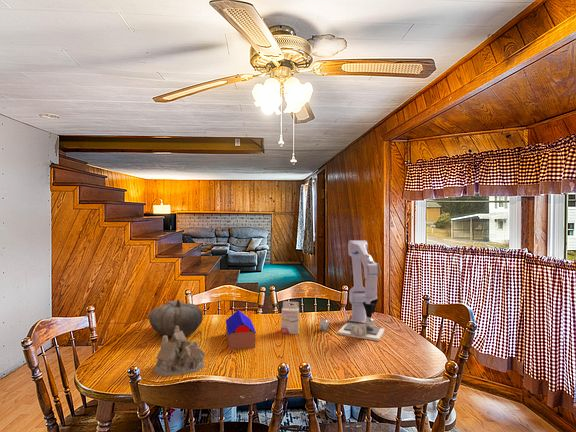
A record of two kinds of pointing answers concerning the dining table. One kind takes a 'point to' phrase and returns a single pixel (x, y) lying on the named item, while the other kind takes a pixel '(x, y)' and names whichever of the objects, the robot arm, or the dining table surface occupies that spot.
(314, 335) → the dining table surface
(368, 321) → the spacer
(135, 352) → the dining table surface
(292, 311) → the ink cartridge box
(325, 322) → the spacer
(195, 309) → the gourd
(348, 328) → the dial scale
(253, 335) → the house
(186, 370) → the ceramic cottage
